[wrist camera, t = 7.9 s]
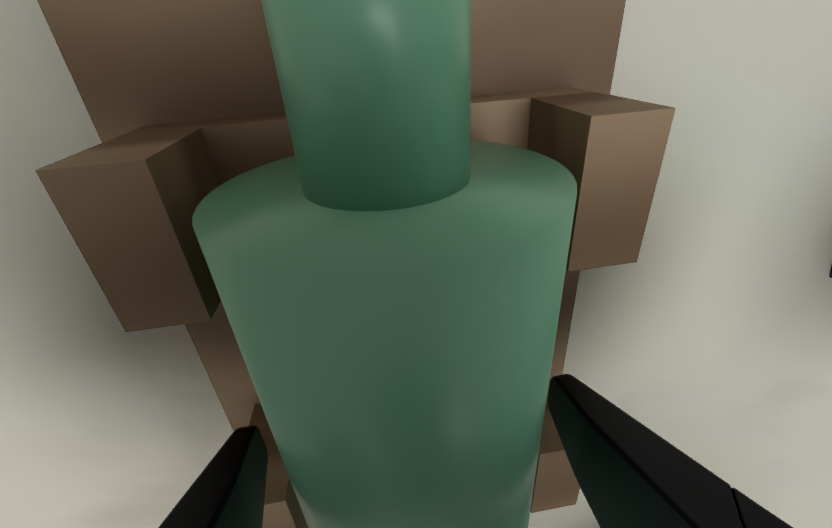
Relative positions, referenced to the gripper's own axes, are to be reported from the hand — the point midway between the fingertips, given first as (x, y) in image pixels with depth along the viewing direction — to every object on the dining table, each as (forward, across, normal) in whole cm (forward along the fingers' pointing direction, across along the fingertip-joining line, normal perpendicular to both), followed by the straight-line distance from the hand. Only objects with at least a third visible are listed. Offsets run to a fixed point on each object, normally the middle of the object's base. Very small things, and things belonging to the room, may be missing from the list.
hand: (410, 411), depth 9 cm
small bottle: (+3, 0, -1) cm, 3 cm away
